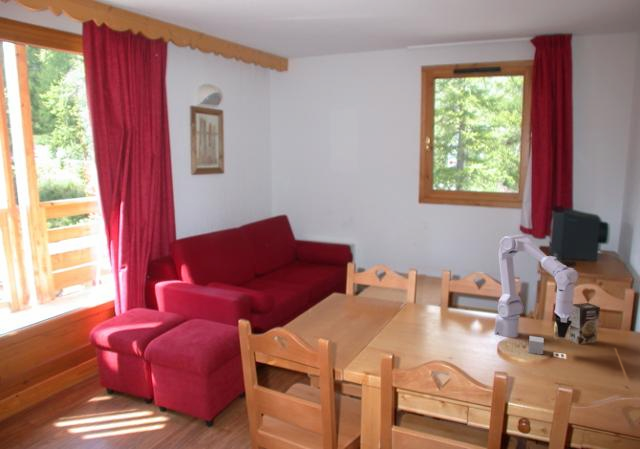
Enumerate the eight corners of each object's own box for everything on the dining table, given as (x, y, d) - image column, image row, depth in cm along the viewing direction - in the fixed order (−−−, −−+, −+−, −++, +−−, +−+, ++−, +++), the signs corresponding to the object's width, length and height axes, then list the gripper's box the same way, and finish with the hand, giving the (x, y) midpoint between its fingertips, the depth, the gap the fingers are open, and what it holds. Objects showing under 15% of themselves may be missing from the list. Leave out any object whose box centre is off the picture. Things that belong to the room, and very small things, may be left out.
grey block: (528, 352, 185) (529, 340, 184) (528, 347, 190) (529, 335, 189) (542, 354, 183) (543, 342, 182) (542, 349, 188) (543, 337, 187)
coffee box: (578, 347, 193) (582, 309, 191) (566, 340, 200) (570, 303, 197) (596, 344, 196) (600, 307, 193) (584, 338, 202) (588, 302, 199)
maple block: (554, 338, 181) (555, 325, 181) (553, 333, 186) (554, 321, 185) (568, 340, 179) (570, 328, 179) (568, 335, 184) (569, 323, 183)
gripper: (577, 307, 172) (574, 343, 174) (575, 296, 185) (571, 329, 187) (556, 304, 175) (552, 339, 177) (554, 293, 188) (552, 326, 190)
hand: (561, 334), depth 182 cm, fingers closed on maple block, 5 cm apart
